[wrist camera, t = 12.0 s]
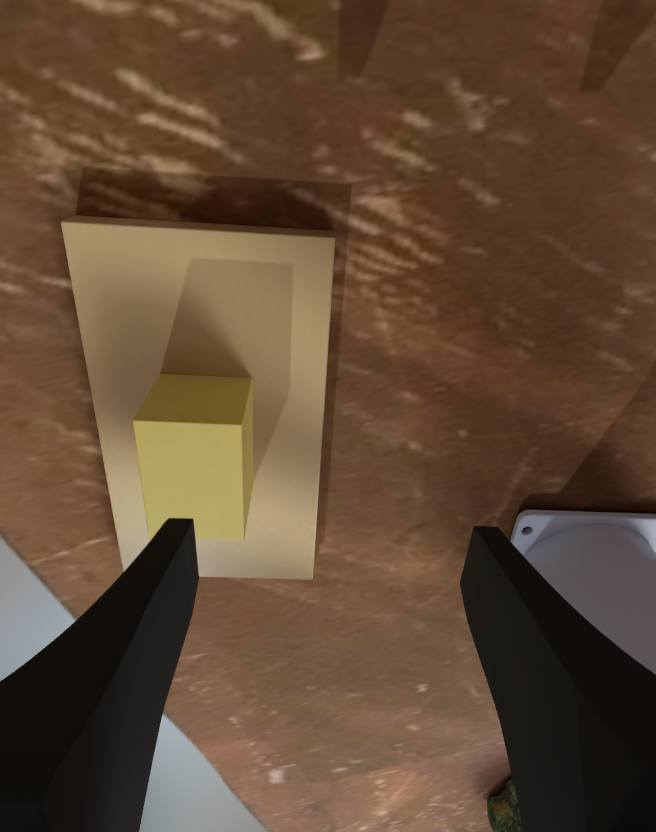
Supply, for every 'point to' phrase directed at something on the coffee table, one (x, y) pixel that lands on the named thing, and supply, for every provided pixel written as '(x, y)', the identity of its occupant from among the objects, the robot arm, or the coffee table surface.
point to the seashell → (504, 810)
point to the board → (211, 363)
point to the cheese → (197, 453)
